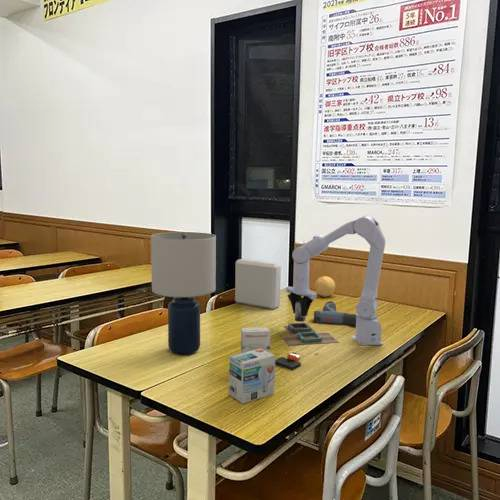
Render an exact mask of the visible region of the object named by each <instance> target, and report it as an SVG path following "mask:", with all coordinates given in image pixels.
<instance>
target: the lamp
mask: <svg viewBox="0 0 500 500" xmlns="http://www.w3.org/2000/svg"><path fill="white" fill-rule="evenodd" d="M216 240H217V235H216V234H213V233H207V232H199V231H197V232H196V231H195V232H194V231H171V232H160V233H153V234H151V235H150V251H151V252H150V253H151V255H150V257H151V262H150V263H151V292H152V293H153V294H155V295H157V296H162V297H167V298H168V297H169V298H173V299H172V301H170V302H169V303H168V305H167V332H168V333H167V335H168V337H167V339H168V340H167V343H168V350H169V351H170V352H171V353H172V354H174V355H180V356H187V355H192V354H195V353H196V352H198V351H199V350H200V347H201V304H200V302H199V301H198V300H195V299H196V298H195V297H202V296H203V297H204V296H208V295H210V294H213V293H214V292H216V289H217V288H216V286H217V285H216V282H217V281H216V280H217V279H216V278H217V277H216V275H217V273H216V271H217V270H216V269H217V267H216V266H217V259H216V256H217V249H216V247H217V245H216V244H217V241H216Z"/></svg>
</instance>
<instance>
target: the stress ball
mask: <svg viewBox="0 0 500 500" xmlns="http://www.w3.org/2000/svg"><path fill="white" fill-rule="evenodd" d="M314 290H315V292H316V294H317V295H320V297H323V298H328V297H330V296H332V295H333V293H334V292H335V290H336V282H335V280H334V279H332V278H331V277H330V276H325V275H324V276H320V277H318V278H317V279H316V281H315V283H314Z"/></svg>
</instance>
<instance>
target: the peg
mask: <svg viewBox="0 0 500 500" xmlns="http://www.w3.org/2000/svg"><path fill="white" fill-rule="evenodd" d="M294 321H295V322H297V323H304V322H305V321H306V316H302V314H301V303H300V301H295V313H294Z"/></svg>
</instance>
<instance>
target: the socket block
mask: <svg viewBox="0 0 500 500" xmlns="http://www.w3.org/2000/svg"><path fill="white" fill-rule="evenodd" d="M282 327H283V328H284V329H285V330H286V331H287V332H288V333H289V335H297V333H298V332H316V330H315V329H313V328H312V326H310V325H309V324H308V323H307V322H291V323H290V322H289V323H288V324H287V325H283V326H282Z"/></svg>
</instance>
